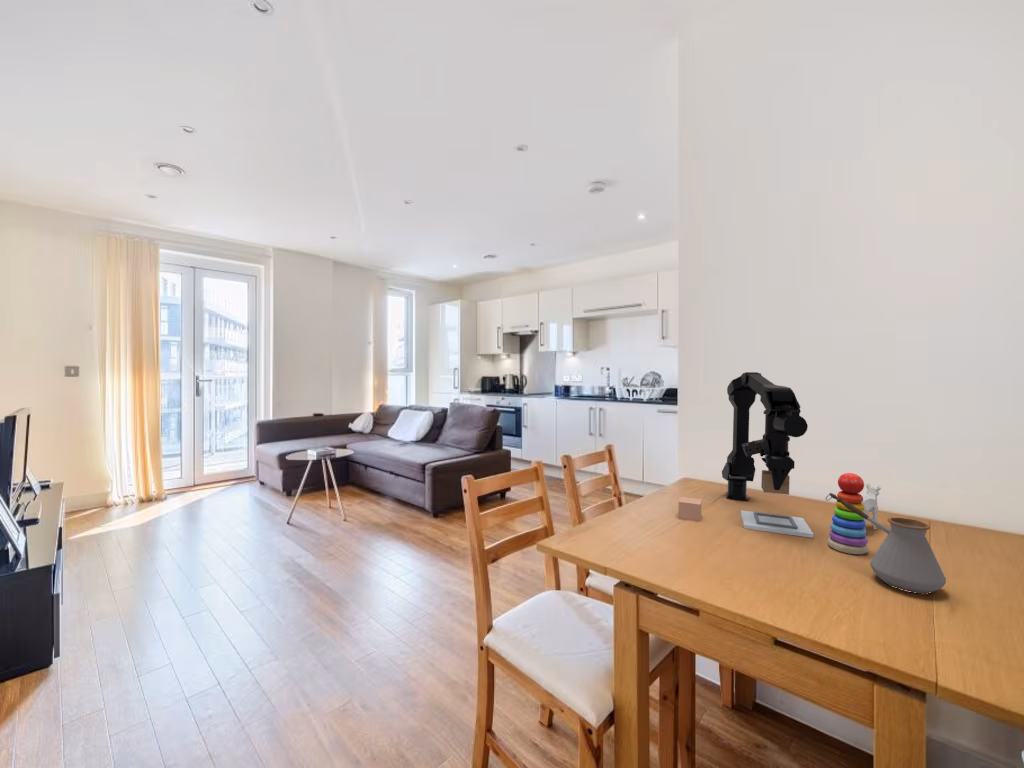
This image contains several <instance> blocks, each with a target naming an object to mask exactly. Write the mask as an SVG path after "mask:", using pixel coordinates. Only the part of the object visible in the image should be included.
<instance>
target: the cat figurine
mask: <svg viewBox="0 0 1024 768" xmlns="http://www.w3.org/2000/svg"><path fill="white" fill-rule="evenodd" d="M865 487H866V489H867V490H866V495H862V497H863V501H862V502H861V503H862V504H863V505H864V507H865V508H864V510H863V512H864V513H865V514H866V515H868V516H869V513H870V512H871V514H872V519H873V520H875V521H877V522H878V512H879V506H878V496H879V495H880V490H882V487H881V486H880V485H877V487H873V486H871V485H870V483H869V482H868V483H867V484H865ZM863 520H864V521H865V523H866V524H868V520H866V519H865V518H864V519H863ZM872 525H873V526H872V527H873V528H872V529H873V530H874V531H875V530H877V529H878V527H877V526H876V525H874V524H873V523H872Z"/></svg>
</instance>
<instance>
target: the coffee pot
mask: <svg viewBox="0 0 1024 768" xmlns="http://www.w3.org/2000/svg"><path fill="white" fill-rule="evenodd" d="M829 496H830V498H829V499H827V498H828V497H829ZM831 499H834V500H836V501H837V502H840V503H842V504H843V505H844V506H845V507H846V508H848V509H849V510H851V511H853V512H854V513H856V514H858V515H859V516H861V517H863V518H865V519H866V520H868V521H869V523H871V524H872V525H873V524H874V525H876V528H879V529H880V530H882V531H883V532H884V533H886V534H887V536H886V537H885V539H884V540H883V542H882V543H881V545H880V546H879V548H878V550H876V552H875V554H874V555H873V557H872V558H871V560H870V562H869V566H870V568H871V569H872V571H873V573H874V574H875V575H876V576H877V577H878V578H879V579H880V580H881V579H882V580H883V581H884V582H885V583H887V584H889V585H891V586H894V587H897V588H900V589H903V590H907V591H911V592H916V593H929V592H932V593H933V592H936V591H937V592H938V591H939V590H940V589H942V588H943V587H945V585H946V583H947V578H946V576H945V575H944V572H943V570H942V568H941V565H940V564H939V562H938V560H937V557H936V555H935V554H934V552H933V549H932V546H931V545H930V543H929V541H928V539H927V537H926V534H927V532H928V530H930V529H931V526H930V525H929V524H927V523H926V522H923V521H921V520H917V519H911V518H905V517H898V516H897V517H889V518H887V522H888V523H889V524H890V529H889V528H888V527H887V526H885V525H883V524H881V523H880V522H878V520H877V521H875V520H873V517H872V518H871V517H870V516H869V514H868V515H866V514H865V513H863V512H862V511H861V510H859V509H858V508H856V507H855V506H853V505H852V504H850V503H848V502H846V501H844V500H842V498H838V497H837V494H834V493H832V492H829V493H828V494H827V495H826V497H825V501H830V500H831ZM868 521H867V522H868ZM882 580H881V581H882ZM883 581H882V582H883ZM884 582H883V583H884ZM885 583H884V584H885ZM887 584H886V585H887ZM889 585H888V586H889ZM891 586H890V587H891Z"/></svg>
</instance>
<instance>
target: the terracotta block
mask: <svg viewBox="0 0 1024 768" xmlns="http://www.w3.org/2000/svg"><path fill="white" fill-rule="evenodd" d="M702 502H703V500H702V499H701V498H694V497H685V496H679V499H678V514H677V517H678V519H680V518H682V519H681V520H688V521H694V522H695V521H696V522H702Z"/></svg>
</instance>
